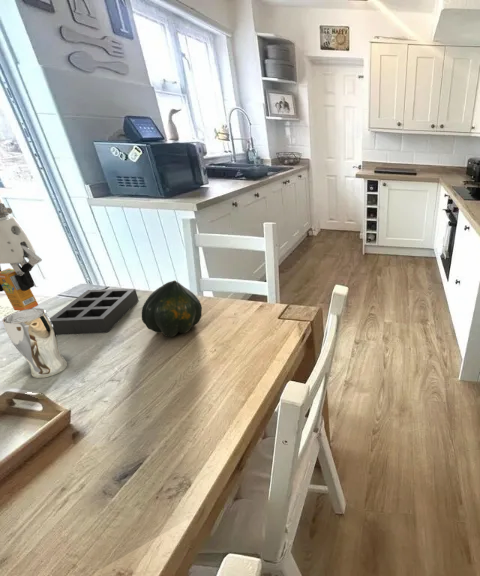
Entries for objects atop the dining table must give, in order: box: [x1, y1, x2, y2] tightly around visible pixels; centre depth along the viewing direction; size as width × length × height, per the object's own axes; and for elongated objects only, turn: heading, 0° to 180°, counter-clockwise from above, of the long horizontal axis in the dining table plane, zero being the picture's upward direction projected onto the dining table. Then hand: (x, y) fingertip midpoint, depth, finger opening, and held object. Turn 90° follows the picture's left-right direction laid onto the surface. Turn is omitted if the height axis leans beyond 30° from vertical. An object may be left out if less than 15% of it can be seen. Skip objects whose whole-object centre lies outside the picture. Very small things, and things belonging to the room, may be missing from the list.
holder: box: [49, 288, 140, 336], centre depth 97 cm, size 13×19×4 cm
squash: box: [141, 280, 203, 338], centre depth 93 cm, size 14×15×15 cm
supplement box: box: [0, 268, 39, 311], centre depth 77 cm, size 3×3×10 cm
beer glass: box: [2, 307, 68, 379], centre depth 74 cm, size 7×7×15 cm
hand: (16, 288), depth 77 cm, fingers closed on supplement box, 3 cm apart
